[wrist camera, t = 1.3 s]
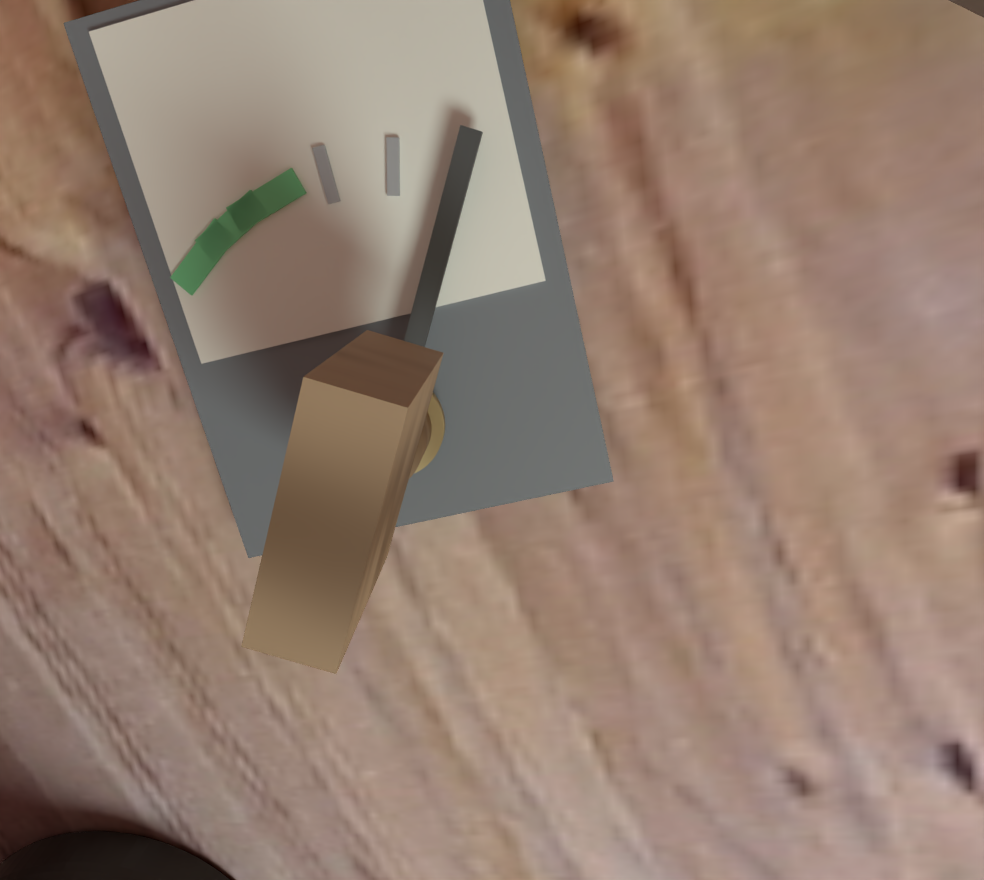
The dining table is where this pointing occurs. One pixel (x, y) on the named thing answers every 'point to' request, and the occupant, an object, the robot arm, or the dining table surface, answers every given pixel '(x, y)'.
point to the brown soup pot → (972, 5)
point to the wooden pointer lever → (353, 466)
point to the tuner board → (347, 227)
